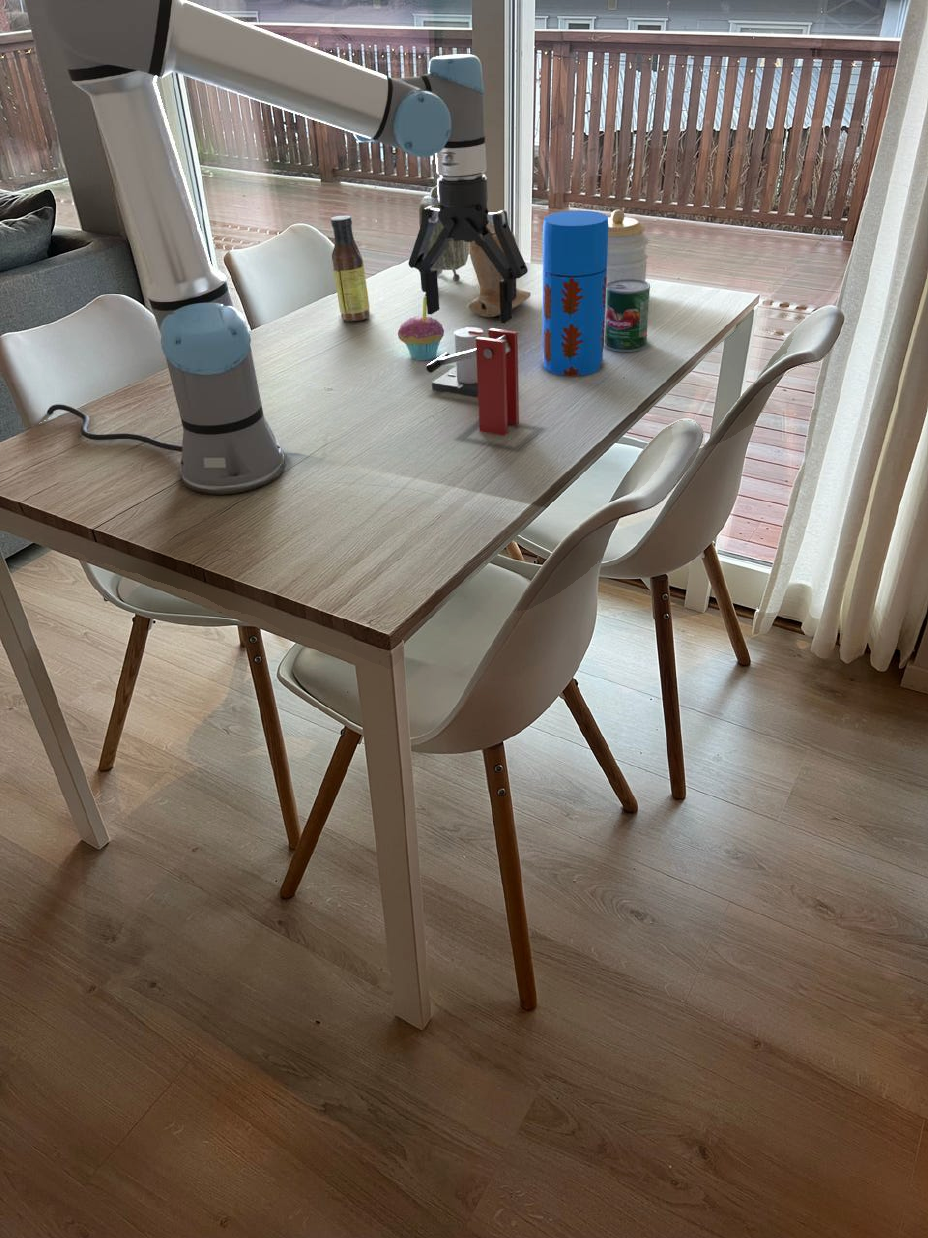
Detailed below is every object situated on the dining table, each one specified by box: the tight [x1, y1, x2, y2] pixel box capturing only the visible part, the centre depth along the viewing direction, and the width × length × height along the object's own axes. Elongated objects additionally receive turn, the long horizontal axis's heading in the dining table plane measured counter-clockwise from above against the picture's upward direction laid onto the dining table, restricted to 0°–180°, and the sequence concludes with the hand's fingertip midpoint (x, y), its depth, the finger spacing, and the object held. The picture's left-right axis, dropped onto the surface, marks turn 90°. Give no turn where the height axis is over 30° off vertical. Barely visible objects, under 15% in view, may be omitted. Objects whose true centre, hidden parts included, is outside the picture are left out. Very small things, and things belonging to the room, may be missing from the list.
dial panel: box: [431, 366, 478, 398], centre depth 159 cm, size 11×9×3 cm
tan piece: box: [467, 231, 532, 318], centre depth 191 cm, size 15×12×15 cm
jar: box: [606, 209, 650, 285], centre depth 191 cm, size 13×13×18 cm
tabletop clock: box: [418, 173, 470, 282], centre depth 205 cm, size 14×9×25 cm, turn 174°
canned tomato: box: [604, 279, 651, 353], centre depth 171 cm, size 8×8×11 cm
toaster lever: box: [425, 335, 511, 374], centre depth 140 cm, size 13×6×2 cm, turn 61°
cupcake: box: [397, 293, 445, 361], centre depth 171 cm, size 9×8×12 cm
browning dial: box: [454, 326, 485, 384], centre depth 155 cm, size 5×5×8 cm
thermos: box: [542, 210, 609, 377], centre depth 160 cm, size 11×11×25 cm
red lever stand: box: [476, 327, 520, 437], centre depth 141 cm, size 10×8×16 cm
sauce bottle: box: [330, 215, 371, 322], centre depth 189 cm, size 7×6×20 cm
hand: (469, 316), depth 152 cm, fingers open, 13 cm apart
